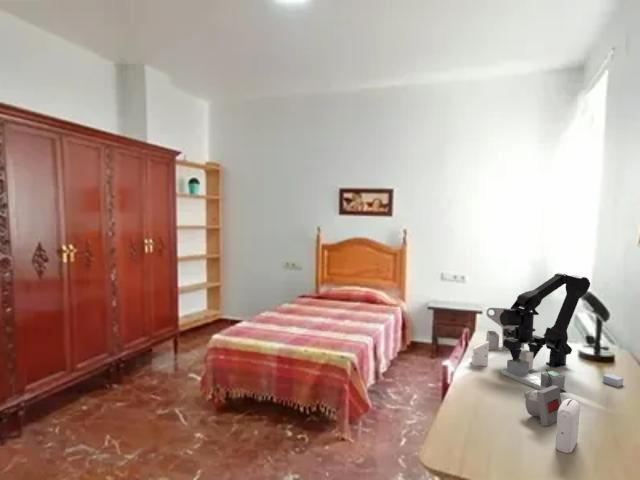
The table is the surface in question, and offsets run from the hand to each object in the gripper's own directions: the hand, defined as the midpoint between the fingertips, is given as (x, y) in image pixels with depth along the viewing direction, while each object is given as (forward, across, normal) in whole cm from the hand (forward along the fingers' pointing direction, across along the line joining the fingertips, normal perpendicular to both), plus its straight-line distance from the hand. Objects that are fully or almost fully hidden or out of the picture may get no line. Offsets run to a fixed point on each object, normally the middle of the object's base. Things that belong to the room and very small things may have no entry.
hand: (523, 362), depth 185 cm
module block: (+2, 0, 0) cm, 2 cm away
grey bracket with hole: (+2, -16, -23) cm, 28 cm away
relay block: (0, -12, +28) cm, 30 cm away
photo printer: (+2, +42, +49) cm, 65 cm away
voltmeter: (+2, +28, +32) cm, 42 cm away
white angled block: (+2, +14, -10) cm, 17 cm away
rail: (+2, +11, +13) cm, 17 cm away
